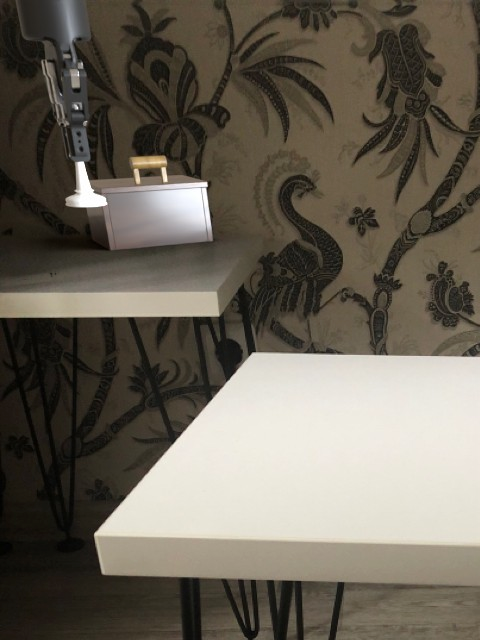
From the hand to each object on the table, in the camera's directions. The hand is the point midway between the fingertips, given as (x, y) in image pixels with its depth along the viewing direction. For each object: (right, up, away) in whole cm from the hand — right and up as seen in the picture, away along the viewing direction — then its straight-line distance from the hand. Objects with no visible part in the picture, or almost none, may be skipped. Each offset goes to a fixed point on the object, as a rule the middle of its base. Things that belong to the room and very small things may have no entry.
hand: (78, 160), depth 112 cm
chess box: (-1, +1, +30) cm, 30 cm away
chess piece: (0, -5, +3) cm, 5 cm away
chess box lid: (0, +8, +26) cm, 27 cm away
